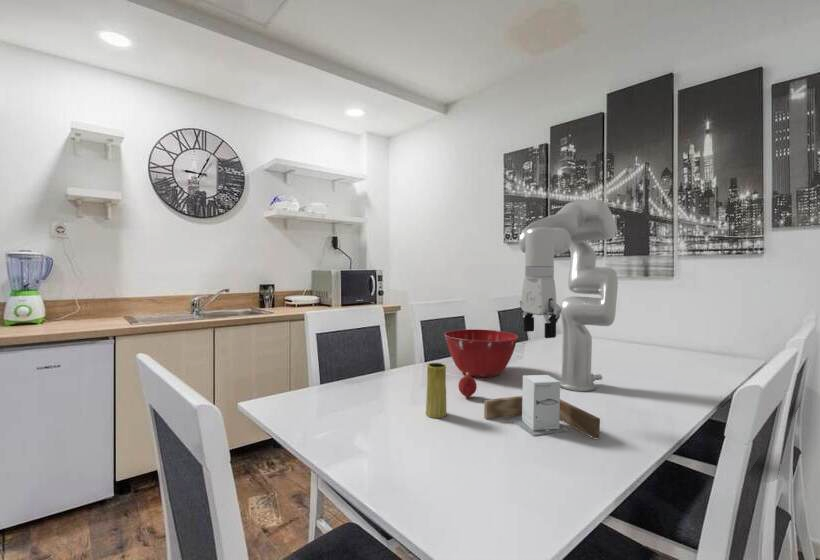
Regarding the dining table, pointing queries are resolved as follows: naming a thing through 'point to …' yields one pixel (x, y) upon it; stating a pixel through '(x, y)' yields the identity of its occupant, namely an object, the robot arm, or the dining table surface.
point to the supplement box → (541, 402)
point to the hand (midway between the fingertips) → (539, 334)
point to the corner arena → (566, 414)
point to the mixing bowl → (481, 350)
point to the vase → (436, 390)
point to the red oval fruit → (467, 385)
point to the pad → (537, 432)
